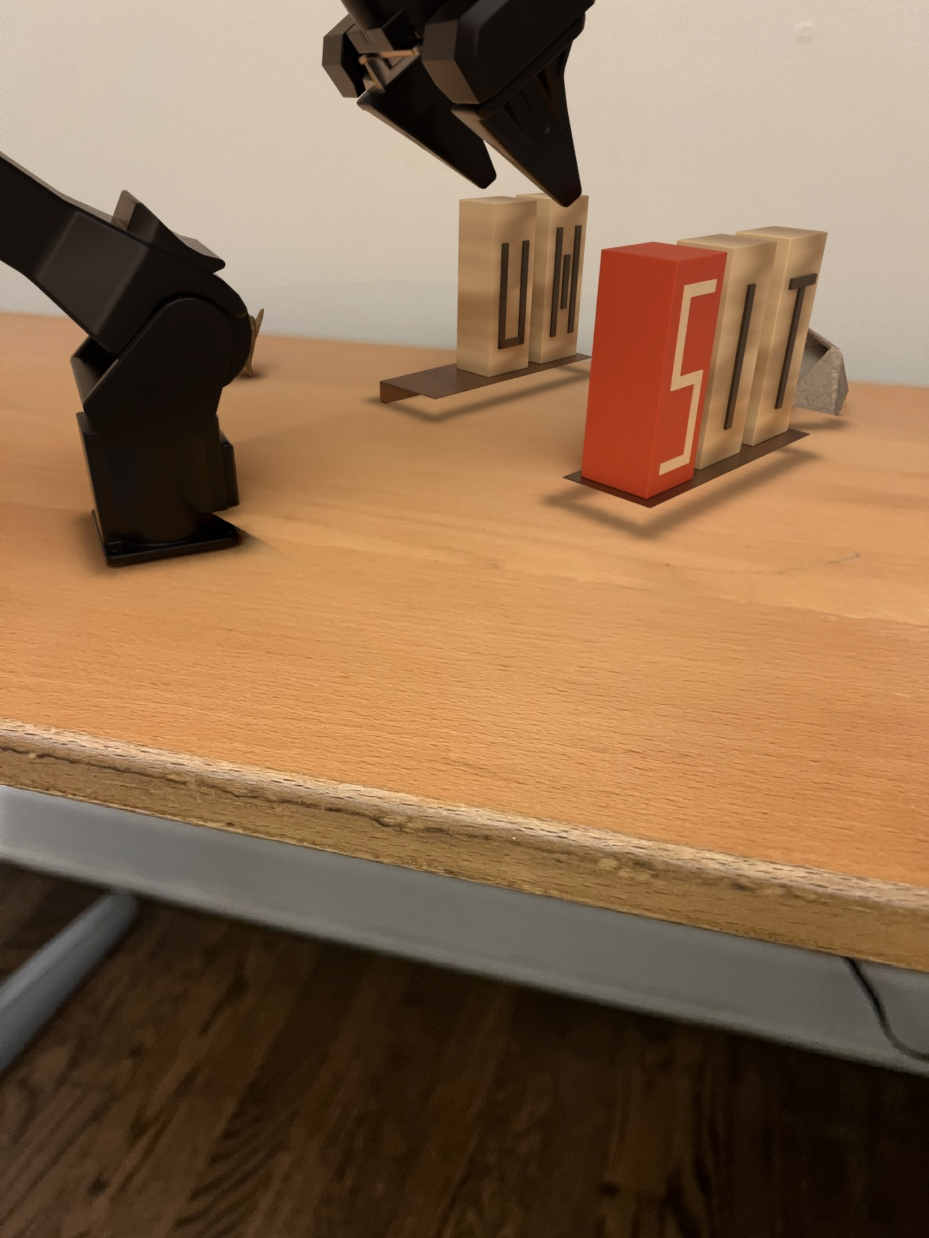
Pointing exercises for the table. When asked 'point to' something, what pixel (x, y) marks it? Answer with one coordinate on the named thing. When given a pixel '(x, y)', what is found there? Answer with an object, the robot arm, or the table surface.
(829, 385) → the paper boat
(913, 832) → the table surface
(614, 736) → the table surface
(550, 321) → the wooden blocks on base
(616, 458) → the red letter block
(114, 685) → the table surface
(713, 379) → the sit board
